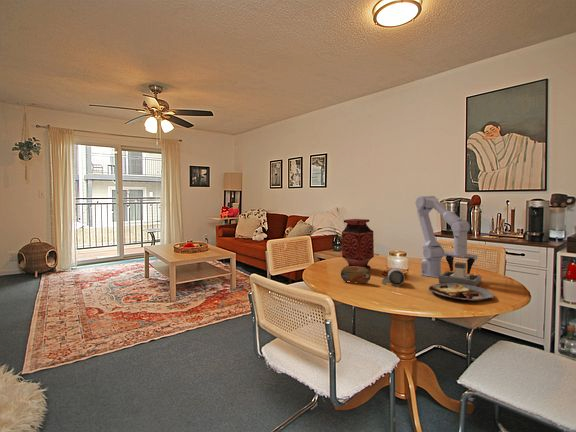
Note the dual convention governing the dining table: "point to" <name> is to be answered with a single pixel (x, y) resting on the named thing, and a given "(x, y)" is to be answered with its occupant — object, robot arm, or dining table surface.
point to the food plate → (461, 291)
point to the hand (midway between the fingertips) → (459, 272)
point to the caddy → (460, 279)
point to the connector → (460, 269)
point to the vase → (357, 243)
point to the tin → (355, 274)
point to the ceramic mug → (394, 277)
